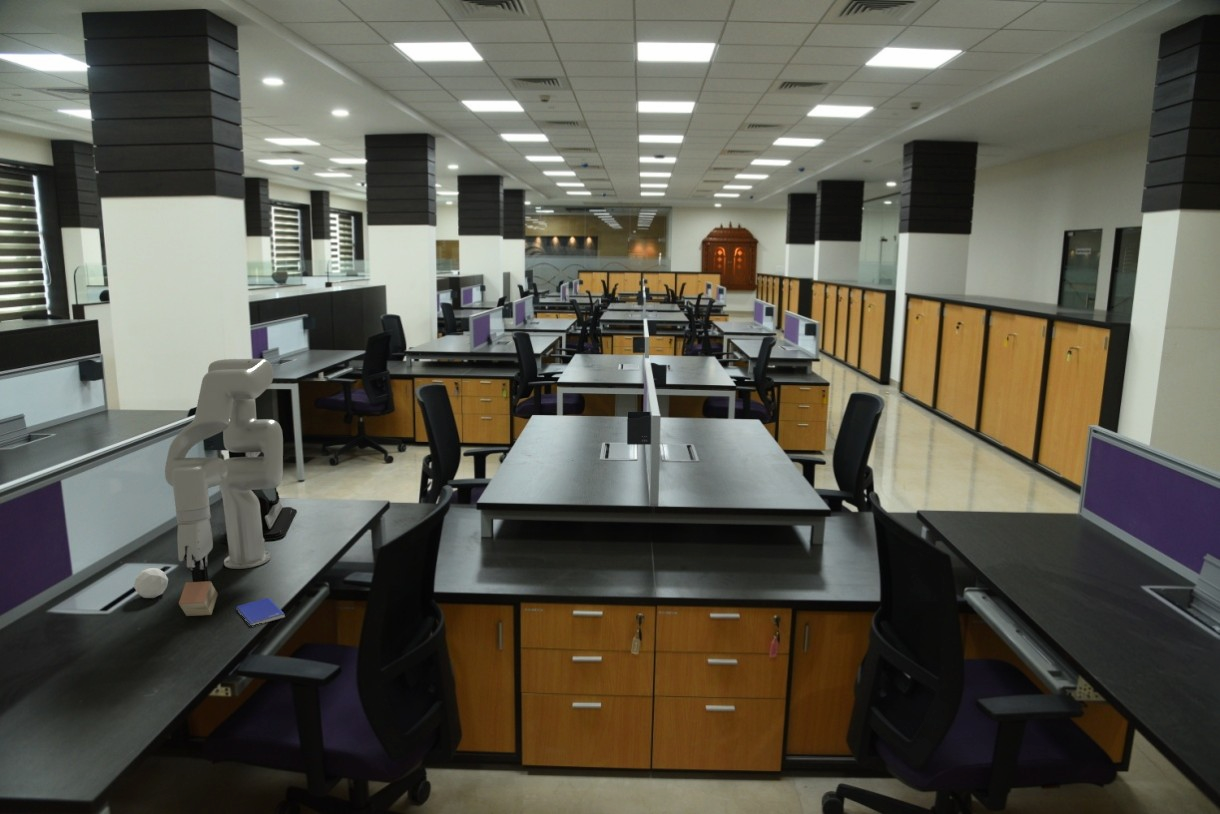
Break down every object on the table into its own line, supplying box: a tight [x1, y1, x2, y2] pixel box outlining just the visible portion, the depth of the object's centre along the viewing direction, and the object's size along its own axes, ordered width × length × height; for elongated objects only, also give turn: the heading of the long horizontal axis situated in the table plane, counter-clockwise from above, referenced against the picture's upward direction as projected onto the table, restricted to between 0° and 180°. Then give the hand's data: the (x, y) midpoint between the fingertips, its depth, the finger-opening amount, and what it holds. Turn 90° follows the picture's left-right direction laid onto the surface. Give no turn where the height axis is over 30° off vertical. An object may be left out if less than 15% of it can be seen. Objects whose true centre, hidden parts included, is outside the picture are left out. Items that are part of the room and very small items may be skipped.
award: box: [221, 451, 298, 545], centre depth 259 cm, size 30×19×30 cm, turn 13°
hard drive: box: [236, 597, 286, 626], centre depth 198 cm, size 2×8×12 cm
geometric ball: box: [133, 567, 169, 599], centre depth 208 cm, size 8×8×8 cm
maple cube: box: [178, 580, 218, 617], centre depth 197 cm, size 6×6×6 cm
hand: (200, 582), depth 199 cm, fingers closed
